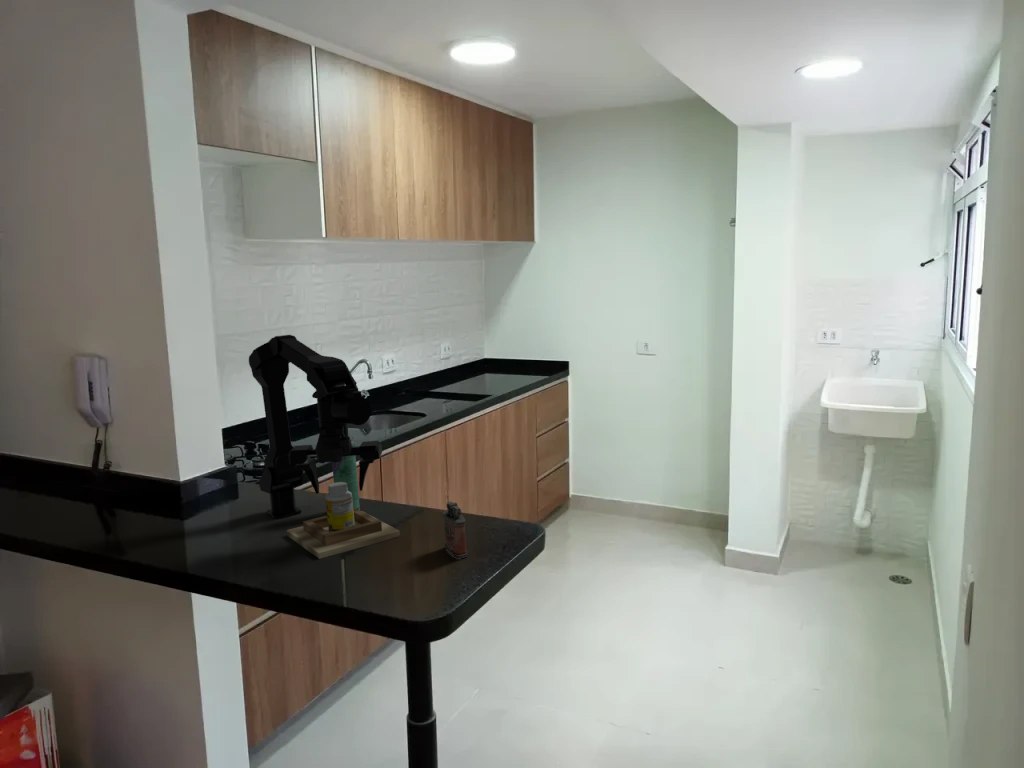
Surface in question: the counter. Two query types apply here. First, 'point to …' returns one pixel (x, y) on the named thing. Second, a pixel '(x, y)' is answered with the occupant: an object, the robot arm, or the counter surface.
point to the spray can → (348, 475)
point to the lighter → (454, 531)
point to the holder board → (341, 535)
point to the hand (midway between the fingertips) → (339, 491)
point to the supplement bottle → (339, 507)
